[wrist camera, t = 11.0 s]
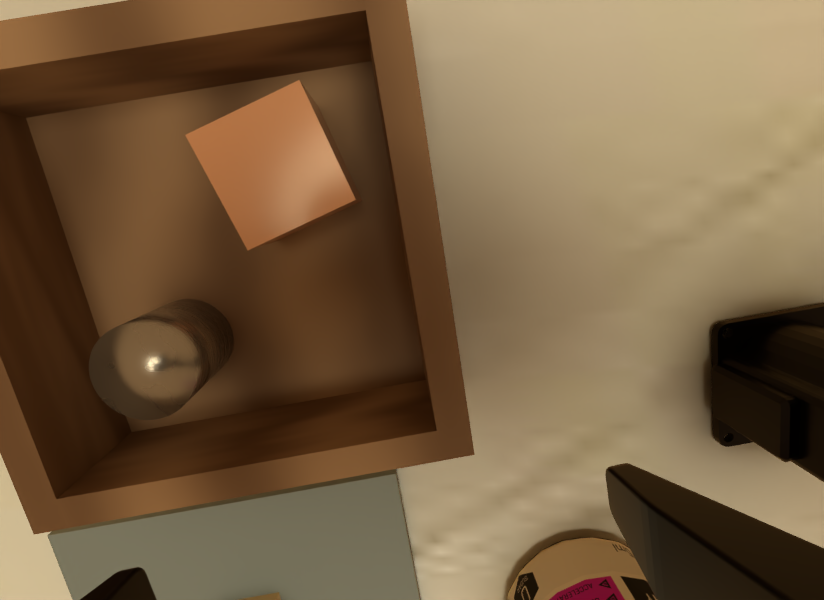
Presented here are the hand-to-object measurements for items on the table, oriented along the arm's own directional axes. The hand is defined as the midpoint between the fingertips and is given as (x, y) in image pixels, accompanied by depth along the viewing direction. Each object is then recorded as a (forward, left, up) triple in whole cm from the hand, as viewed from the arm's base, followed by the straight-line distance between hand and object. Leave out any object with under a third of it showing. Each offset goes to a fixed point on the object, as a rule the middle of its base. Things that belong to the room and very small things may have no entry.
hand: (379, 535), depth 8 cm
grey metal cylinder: (+8, -2, -12) cm, 14 cm away
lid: (+9, +15, -13) cm, 22 cm away
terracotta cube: (+2, -8, -12) cm, 14 cm away
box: (+5, -5, -13) cm, 14 cm away
